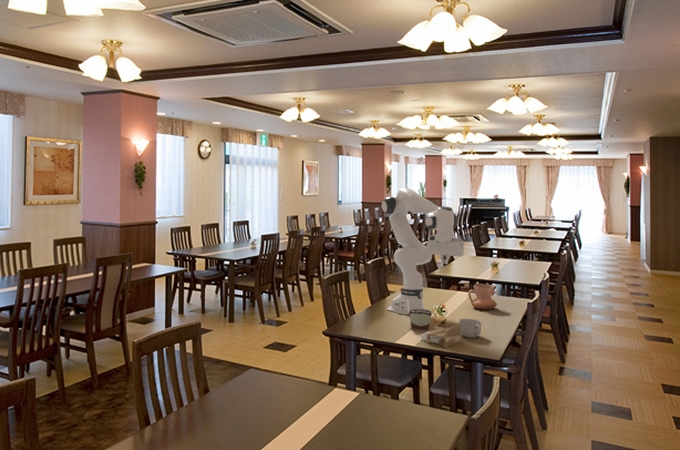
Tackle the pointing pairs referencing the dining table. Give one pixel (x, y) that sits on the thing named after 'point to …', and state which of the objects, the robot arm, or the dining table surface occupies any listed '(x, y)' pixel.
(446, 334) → the tan notched block
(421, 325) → the food container
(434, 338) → the tray
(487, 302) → the ceramic jug
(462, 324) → the teacup
